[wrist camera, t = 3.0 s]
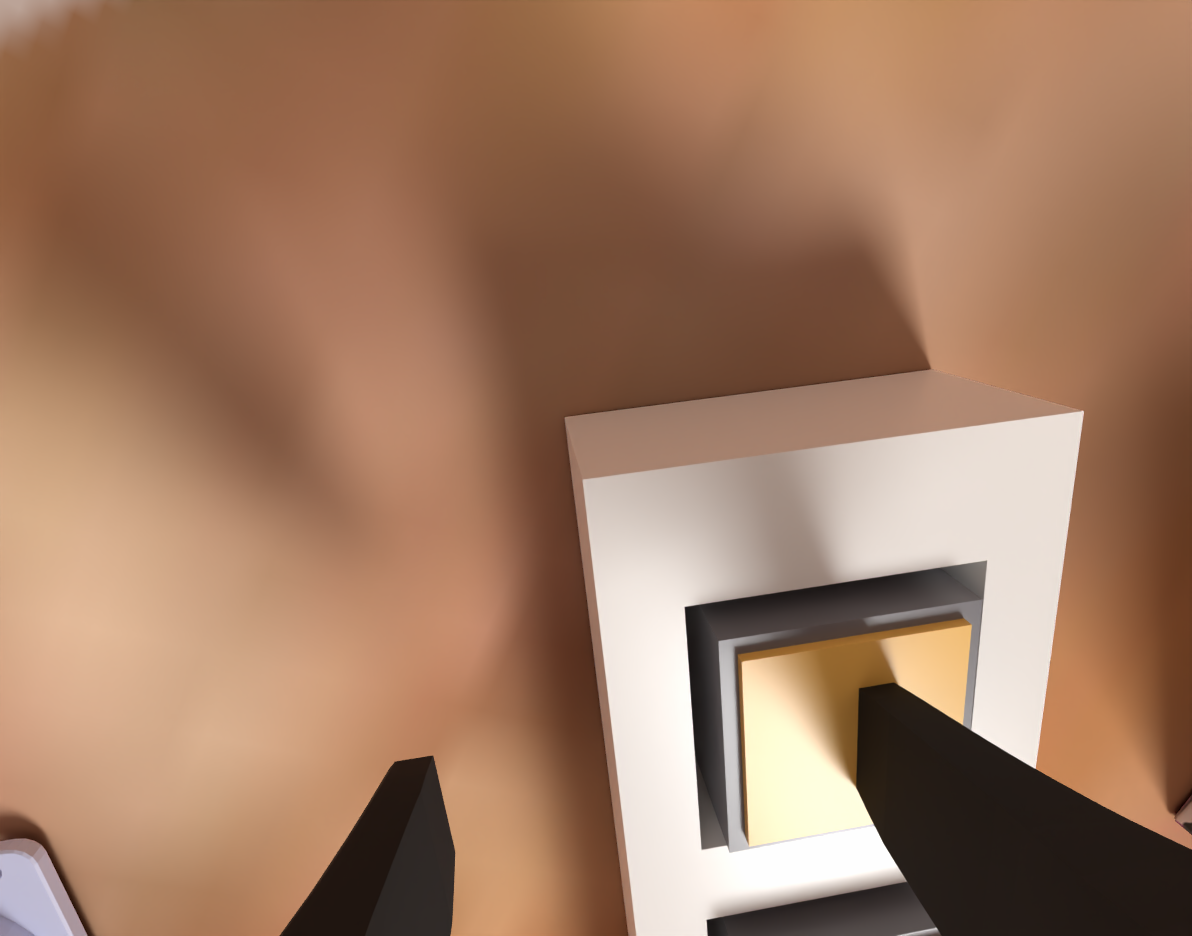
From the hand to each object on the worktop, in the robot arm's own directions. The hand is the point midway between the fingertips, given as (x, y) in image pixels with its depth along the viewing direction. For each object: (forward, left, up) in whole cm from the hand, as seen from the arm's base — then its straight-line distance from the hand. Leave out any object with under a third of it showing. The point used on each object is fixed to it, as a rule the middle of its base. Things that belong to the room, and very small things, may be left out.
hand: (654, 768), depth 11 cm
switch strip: (+3, -7, -5) cm, 9 cm away
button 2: (+3, 0, -3) cm, 5 cm away
